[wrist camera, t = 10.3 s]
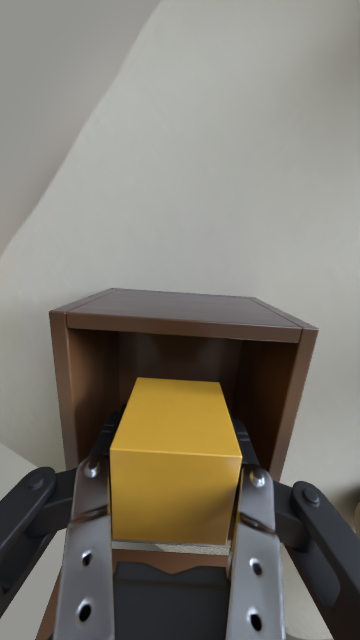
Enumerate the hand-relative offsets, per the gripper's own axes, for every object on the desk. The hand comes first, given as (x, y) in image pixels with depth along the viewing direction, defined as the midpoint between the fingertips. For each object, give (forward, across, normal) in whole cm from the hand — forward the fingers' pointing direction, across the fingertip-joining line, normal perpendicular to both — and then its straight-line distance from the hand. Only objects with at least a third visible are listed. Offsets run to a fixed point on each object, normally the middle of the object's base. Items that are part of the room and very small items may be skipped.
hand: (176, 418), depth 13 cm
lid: (-10, 0, -10) cm, 14 cm away
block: (0, 0, 0) cm, 0 cm away
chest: (+7, 0, -1) cm, 7 cm away
